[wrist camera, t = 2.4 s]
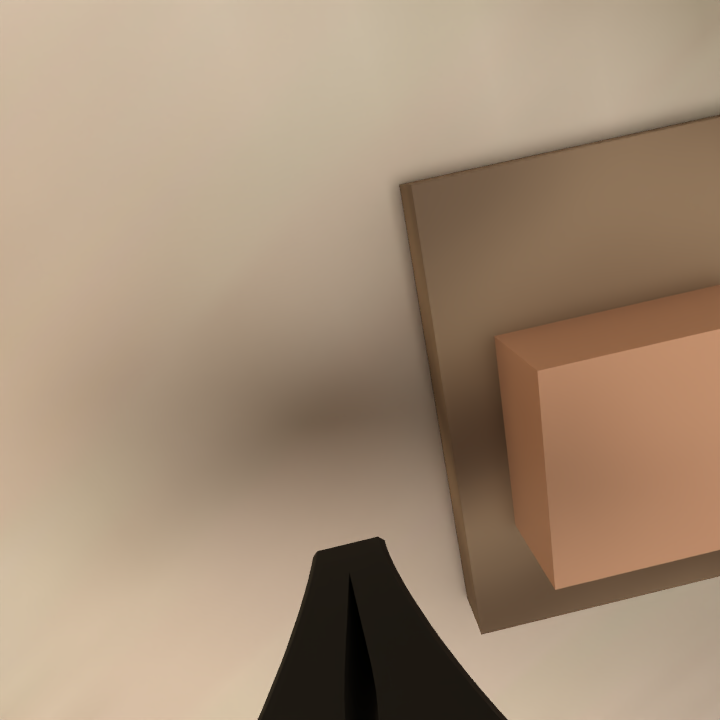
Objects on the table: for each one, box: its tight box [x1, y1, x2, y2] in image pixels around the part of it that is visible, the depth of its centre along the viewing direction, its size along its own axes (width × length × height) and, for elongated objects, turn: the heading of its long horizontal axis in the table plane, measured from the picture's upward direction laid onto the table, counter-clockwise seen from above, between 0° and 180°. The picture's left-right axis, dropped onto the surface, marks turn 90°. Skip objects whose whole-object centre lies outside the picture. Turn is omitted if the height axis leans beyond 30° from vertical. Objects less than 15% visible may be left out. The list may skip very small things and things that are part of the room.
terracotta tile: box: [494, 285, 720, 590], centre depth 13 cm, size 6×6×2 cm
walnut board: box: [400, 115, 720, 634], centre depth 14 cm, size 14×16×2 cm
